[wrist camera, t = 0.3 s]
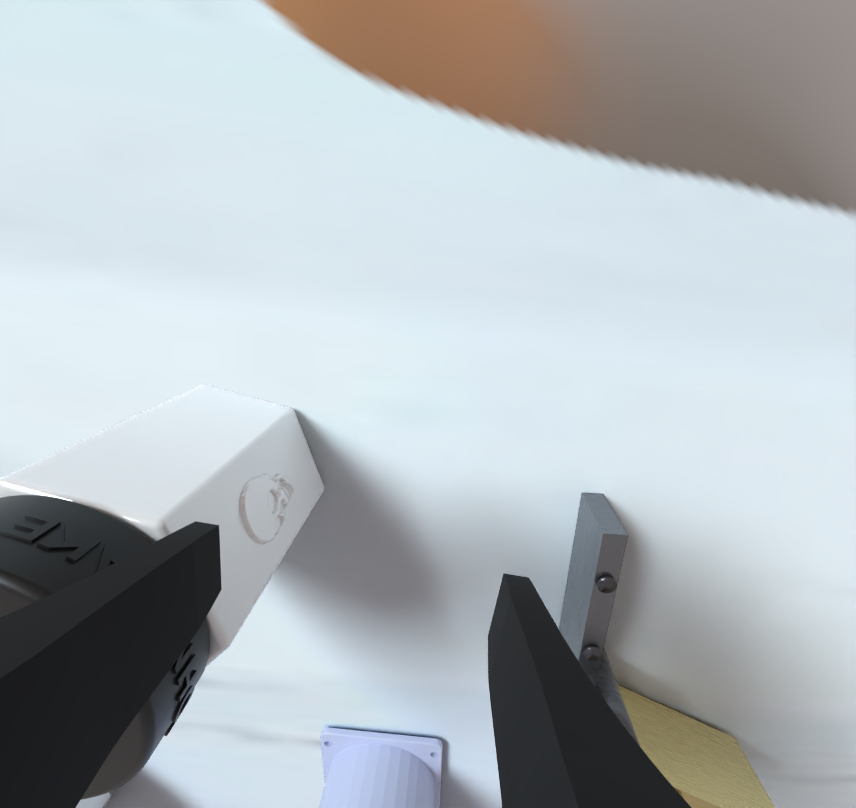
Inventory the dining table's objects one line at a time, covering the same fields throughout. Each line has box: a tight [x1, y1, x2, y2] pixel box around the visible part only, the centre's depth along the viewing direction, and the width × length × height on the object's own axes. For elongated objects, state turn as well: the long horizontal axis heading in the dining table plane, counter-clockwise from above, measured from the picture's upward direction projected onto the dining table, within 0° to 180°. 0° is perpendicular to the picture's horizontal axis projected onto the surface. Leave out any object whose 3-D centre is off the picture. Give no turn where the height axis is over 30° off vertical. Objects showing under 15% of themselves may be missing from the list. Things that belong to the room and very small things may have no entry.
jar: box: [0, 384, 324, 800], centre depth 15 cm, size 9×8×12 cm
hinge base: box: [559, 493, 640, 746], centre depth 19 cm, size 12×3×7 cm, turn 179°
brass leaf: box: [618, 685, 775, 808], centre depth 22 cm, size 9×1×5 cm, turn 64°
